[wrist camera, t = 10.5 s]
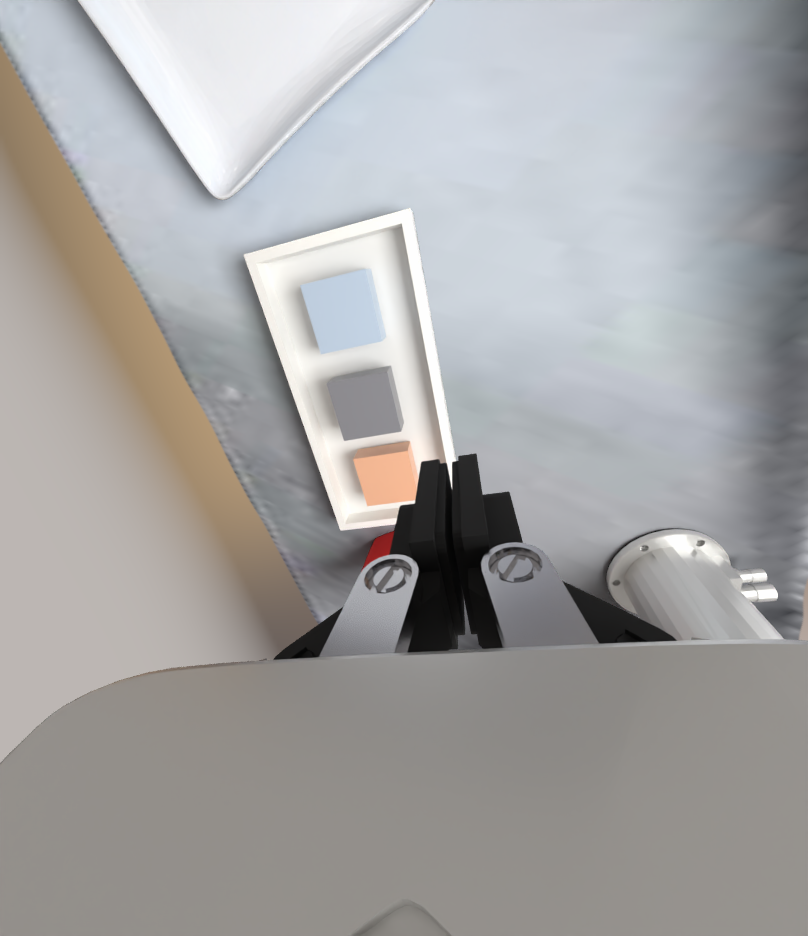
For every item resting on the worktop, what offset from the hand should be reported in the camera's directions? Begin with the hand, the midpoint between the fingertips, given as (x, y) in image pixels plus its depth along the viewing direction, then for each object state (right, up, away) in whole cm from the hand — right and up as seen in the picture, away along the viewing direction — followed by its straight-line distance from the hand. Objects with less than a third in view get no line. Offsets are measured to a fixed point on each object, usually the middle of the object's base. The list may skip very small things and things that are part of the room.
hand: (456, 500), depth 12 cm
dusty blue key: (-7, +15, +22) cm, 28 cm away
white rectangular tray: (-5, +9, +27) cm, 29 cm away
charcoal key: (-5, +7, +25) cm, 26 cm away
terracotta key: (-3, +1, +29) cm, 29 cm away
